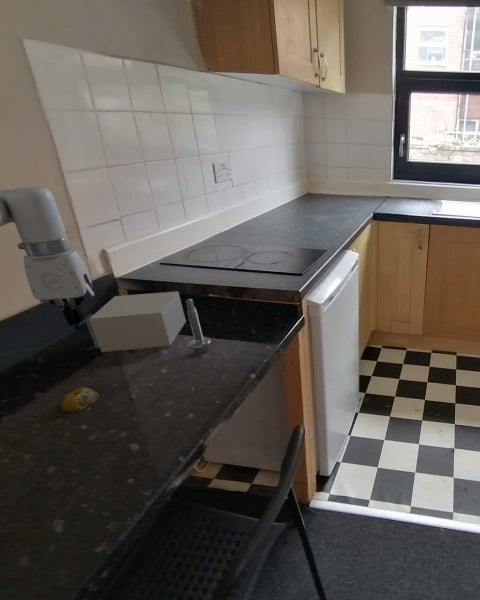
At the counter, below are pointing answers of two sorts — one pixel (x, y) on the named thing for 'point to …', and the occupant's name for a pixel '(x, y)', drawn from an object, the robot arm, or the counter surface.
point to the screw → (196, 330)
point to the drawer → (86, 324)
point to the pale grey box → (138, 321)
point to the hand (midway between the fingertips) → (76, 322)
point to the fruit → (79, 399)
